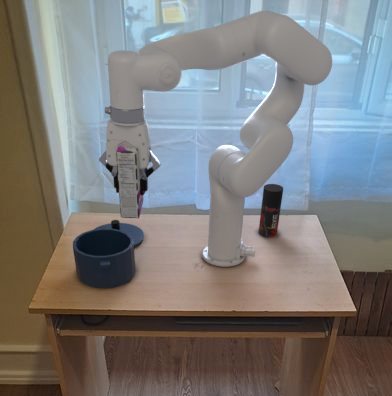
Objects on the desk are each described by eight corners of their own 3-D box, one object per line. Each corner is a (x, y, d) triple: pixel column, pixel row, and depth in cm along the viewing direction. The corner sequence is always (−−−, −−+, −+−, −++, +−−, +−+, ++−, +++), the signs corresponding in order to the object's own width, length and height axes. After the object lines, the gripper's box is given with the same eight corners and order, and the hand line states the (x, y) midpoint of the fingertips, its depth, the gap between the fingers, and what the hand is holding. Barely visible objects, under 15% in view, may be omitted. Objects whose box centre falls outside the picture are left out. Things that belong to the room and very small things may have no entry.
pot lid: (141, 224, 162) (140, 208, 159) (146, 250, 150) (145, 233, 146) (88, 227, 160) (86, 211, 156) (89, 253, 147) (87, 236, 144)
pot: (132, 252, 149) (130, 222, 142) (138, 291, 133) (136, 260, 126) (77, 255, 146) (73, 225, 140) (77, 296, 130) (72, 264, 124)
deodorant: (266, 227, 163) (272, 182, 153) (280, 233, 160) (287, 188, 150) (254, 232, 160) (259, 187, 150) (269, 239, 157) (275, 193, 147)
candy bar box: (124, 199, 131) (121, 135, 121) (143, 200, 131) (142, 136, 121) (119, 218, 123) (115, 150, 112) (139, 219, 123) (137, 151, 112)
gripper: (85, 115, 111) (93, 194, 122) (161, 122, 109) (161, 201, 120) (96, 107, 116) (102, 183, 128) (168, 113, 115) (167, 189, 126)
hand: (131, 191), depth 124 cm, fingers closed on candy bar box, 5 cm apart
